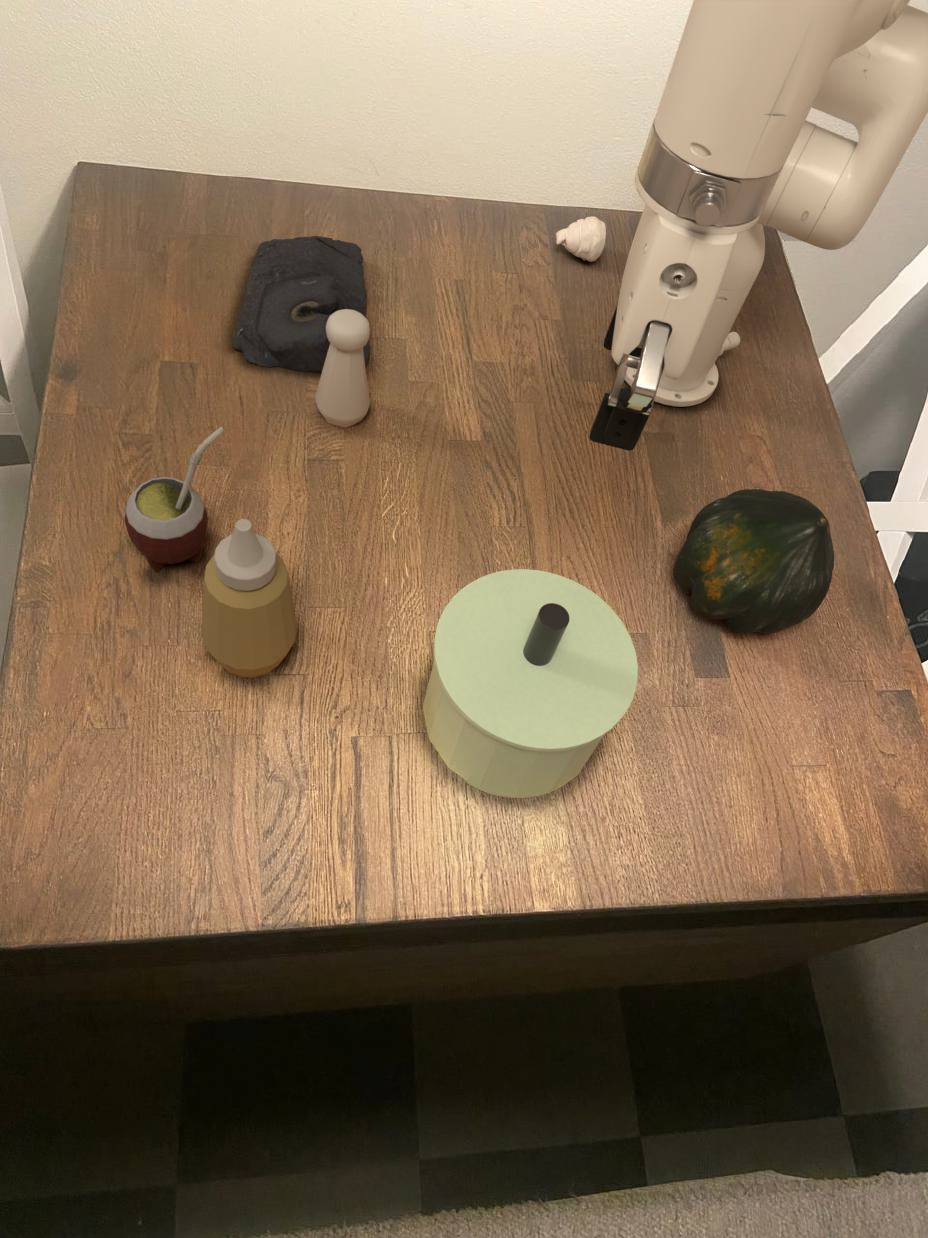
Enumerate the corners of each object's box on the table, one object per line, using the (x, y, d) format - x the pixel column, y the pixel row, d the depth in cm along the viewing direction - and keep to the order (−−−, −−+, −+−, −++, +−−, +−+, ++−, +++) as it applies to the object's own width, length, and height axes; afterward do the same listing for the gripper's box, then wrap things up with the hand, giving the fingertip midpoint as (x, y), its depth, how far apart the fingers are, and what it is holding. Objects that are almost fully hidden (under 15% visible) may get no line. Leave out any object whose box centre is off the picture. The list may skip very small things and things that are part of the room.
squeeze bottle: (257, 707, 79) (251, 588, 64) (184, 658, 81) (162, 530, 66) (314, 644, 84) (321, 519, 69) (244, 598, 85) (236, 466, 70)
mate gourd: (118, 566, 85) (90, 453, 72) (164, 508, 89) (145, 393, 77) (190, 597, 84) (174, 489, 72) (233, 537, 88) (225, 426, 76)
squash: (643, 503, 92) (745, 503, 79) (758, 477, 98) (872, 474, 84) (659, 638, 95) (760, 661, 82) (771, 606, 101) (883, 623, 87)
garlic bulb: (548, 241, 124) (558, 204, 119) (590, 244, 125) (601, 208, 120) (554, 267, 121) (565, 230, 116) (598, 270, 122) (610, 233, 117)
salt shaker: (360, 441, 98) (369, 345, 87) (308, 427, 98) (311, 330, 87) (374, 404, 101) (384, 308, 91) (323, 391, 101) (328, 293, 91)
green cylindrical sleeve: (528, 617, 89) (554, 551, 80) (629, 745, 83) (669, 690, 74) (390, 686, 82) (402, 623, 74) (488, 831, 76) (514, 781, 68)
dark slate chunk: (378, 260, 115) (381, 226, 111) (366, 381, 103) (370, 348, 99) (255, 242, 113) (254, 207, 109) (228, 363, 101) (226, 328, 97)
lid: (553, 550, 81) (573, 501, 76) (674, 696, 75) (705, 654, 69) (392, 625, 74) (401, 577, 69) (511, 793, 68) (531, 755, 62)
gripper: (771, 281, 47) (659, 497, 61) (770, 110, 56) (674, 331, 71) (629, 244, 46) (550, 469, 61) (653, 79, 56) (580, 307, 70)
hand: (617, 395), depth 66 cm, fingers open, 9 cm apart
